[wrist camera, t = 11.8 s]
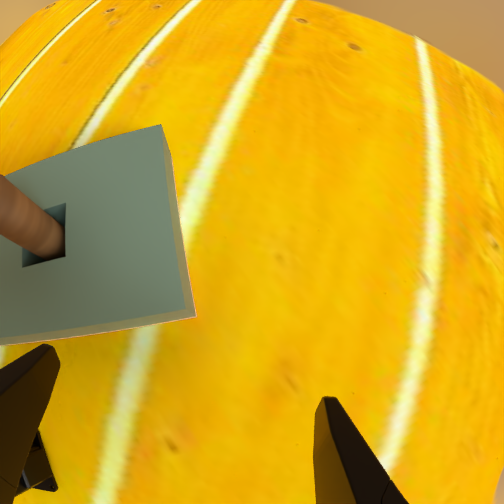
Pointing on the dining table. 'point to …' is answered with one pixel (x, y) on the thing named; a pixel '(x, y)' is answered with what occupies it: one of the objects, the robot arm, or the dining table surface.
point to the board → (99, 244)
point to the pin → (29, 224)
